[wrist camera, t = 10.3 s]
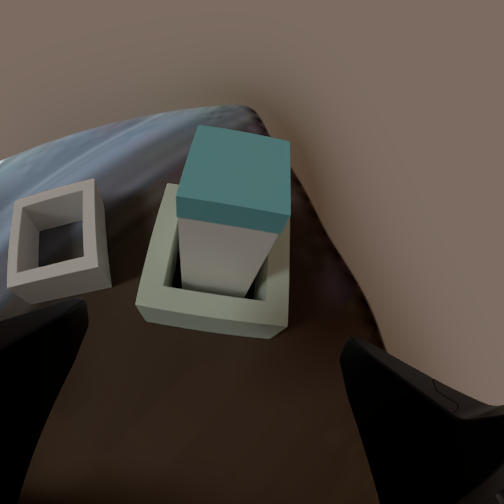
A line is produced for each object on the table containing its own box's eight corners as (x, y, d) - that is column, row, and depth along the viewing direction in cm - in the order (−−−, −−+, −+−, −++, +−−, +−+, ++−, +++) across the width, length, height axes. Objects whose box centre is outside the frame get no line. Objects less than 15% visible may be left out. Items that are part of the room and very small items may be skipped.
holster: (112, 287, 21) (98, 266, 17) (30, 304, 18) (7, 287, 15) (104, 206, 24) (94, 178, 20) (32, 224, 21) (15, 200, 18)
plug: (240, 305, 22) (290, 215, 12) (182, 296, 22) (175, 195, 11) (245, 253, 25) (289, 141, 14) (191, 244, 24) (198, 124, 13)
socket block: (269, 338, 22) (287, 326, 18) (146, 321, 20) (135, 304, 16) (274, 233, 26) (289, 203, 22) (169, 216, 25) (167, 183, 21)
